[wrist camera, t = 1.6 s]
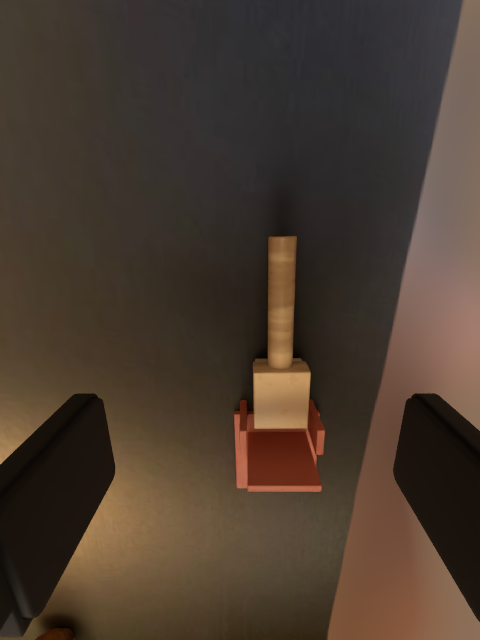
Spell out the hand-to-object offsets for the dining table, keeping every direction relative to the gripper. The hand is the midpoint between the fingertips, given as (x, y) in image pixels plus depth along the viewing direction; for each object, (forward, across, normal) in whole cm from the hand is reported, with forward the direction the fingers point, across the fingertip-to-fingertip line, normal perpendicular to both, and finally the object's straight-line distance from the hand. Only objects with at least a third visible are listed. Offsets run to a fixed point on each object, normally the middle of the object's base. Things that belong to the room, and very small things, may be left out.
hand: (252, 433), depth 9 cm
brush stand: (+16, -3, +14) cm, 22 cm away
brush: (+15, -3, +2) cm, 16 cm away
